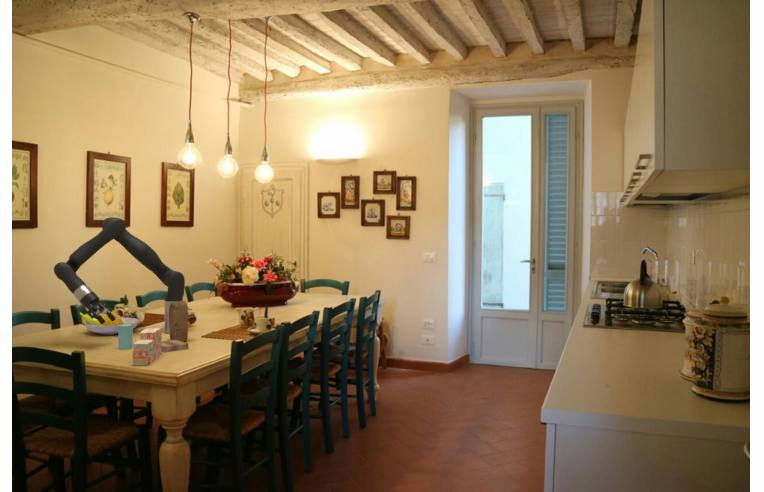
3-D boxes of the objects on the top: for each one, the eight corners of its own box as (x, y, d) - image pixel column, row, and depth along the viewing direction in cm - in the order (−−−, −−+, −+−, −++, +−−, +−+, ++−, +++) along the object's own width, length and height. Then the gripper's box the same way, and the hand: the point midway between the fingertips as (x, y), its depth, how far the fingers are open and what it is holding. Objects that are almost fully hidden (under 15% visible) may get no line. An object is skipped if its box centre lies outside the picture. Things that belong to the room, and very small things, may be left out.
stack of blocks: (148, 365, 238) (148, 336, 237) (132, 365, 237) (132, 336, 236) (161, 354, 259) (161, 327, 258) (147, 354, 258) (147, 327, 258)
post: (123, 347, 270) (123, 324, 270) (132, 347, 270) (132, 324, 269) (118, 349, 266) (118, 325, 265) (127, 349, 265) (127, 326, 265)
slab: (177, 345, 278) (177, 339, 278) (188, 350, 269) (188, 343, 269) (152, 349, 270) (152, 342, 270) (163, 353, 261) (163, 347, 261)
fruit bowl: (146, 328, 319) (146, 308, 318) (125, 337, 292) (126, 315, 291) (95, 327, 318) (95, 307, 317) (70, 336, 291) (70, 314, 290)
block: (188, 342, 285) (189, 302, 284) (173, 343, 280) (174, 303, 279) (181, 338, 293) (182, 299, 292) (167, 339, 289) (167, 300, 288)
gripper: (82, 292, 261) (105, 318, 261) (100, 289, 275) (122, 313, 275) (71, 304, 262) (94, 329, 261) (90, 299, 276) (112, 324, 276)
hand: (109, 321), depth 268 cm, fingers open, 8 cm apart
